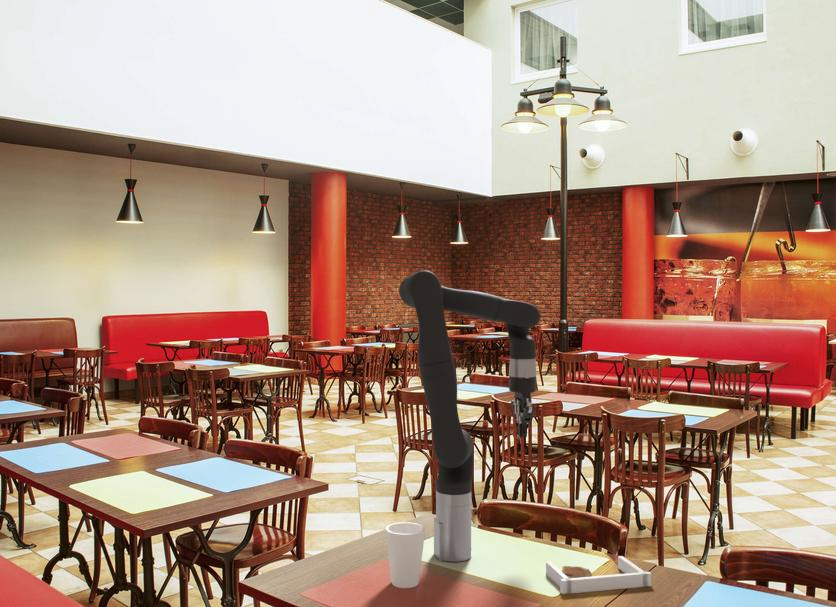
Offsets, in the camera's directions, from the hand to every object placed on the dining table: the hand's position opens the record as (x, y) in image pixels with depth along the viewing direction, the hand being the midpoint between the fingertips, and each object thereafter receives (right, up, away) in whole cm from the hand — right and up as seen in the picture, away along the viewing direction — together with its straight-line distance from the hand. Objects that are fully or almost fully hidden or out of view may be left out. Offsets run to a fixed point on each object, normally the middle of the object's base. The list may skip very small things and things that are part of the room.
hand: (522, 436), depth 206 cm
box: (+14, -29, -29) cm, 43 cm away
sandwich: (+11, -30, -27) cm, 42 cm away
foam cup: (-32, -29, -30) cm, 53 cm away
